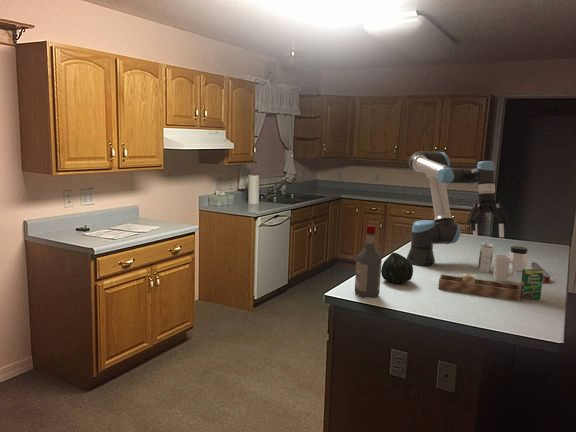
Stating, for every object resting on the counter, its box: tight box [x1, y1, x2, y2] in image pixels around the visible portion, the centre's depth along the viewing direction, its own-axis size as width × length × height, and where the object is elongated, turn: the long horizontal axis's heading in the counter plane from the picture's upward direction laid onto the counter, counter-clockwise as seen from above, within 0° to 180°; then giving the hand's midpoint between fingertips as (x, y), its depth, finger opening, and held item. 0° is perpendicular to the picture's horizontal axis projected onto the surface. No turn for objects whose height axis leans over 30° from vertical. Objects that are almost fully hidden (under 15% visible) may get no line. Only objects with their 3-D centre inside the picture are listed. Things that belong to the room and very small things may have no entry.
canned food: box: [530, 261, 551, 284], centre depth 240 cm, size 11×10×10 cm
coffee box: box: [520, 268, 543, 301], centre depth 208 cm, size 8×3×13 cm, turn 90°
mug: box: [493, 254, 517, 282], centre depth 236 cm, size 10×7×12 cm, turn 55°
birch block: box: [462, 272, 476, 284], centre depth 217 cm, size 5×5×4 cm
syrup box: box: [477, 242, 495, 273], centre depth 253 cm, size 6×6×14 cm
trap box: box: [437, 273, 521, 302], centre depth 216 cm, size 34×10×4 cm, turn 67°
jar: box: [508, 245, 529, 272], centre depth 259 cm, size 9×8×12 cm
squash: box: [381, 252, 414, 285], centre depth 227 cm, size 14×15×15 cm
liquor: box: [354, 224, 382, 298], centre depth 204 cm, size 9×9×30 cm
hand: (488, 237), depth 230 cm, fingers open, 13 cm apart
